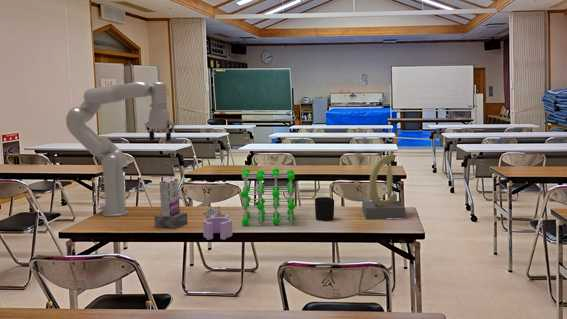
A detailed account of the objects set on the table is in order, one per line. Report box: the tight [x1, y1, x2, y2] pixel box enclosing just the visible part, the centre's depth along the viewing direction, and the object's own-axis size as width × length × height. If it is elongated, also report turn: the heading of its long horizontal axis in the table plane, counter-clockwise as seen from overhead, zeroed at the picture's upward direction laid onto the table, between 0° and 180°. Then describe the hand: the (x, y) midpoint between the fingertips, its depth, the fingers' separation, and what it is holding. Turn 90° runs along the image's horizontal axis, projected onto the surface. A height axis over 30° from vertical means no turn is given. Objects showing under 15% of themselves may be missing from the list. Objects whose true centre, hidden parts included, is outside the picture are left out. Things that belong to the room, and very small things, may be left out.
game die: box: [202, 205, 223, 219], centre depth 290 cm, size 9×8×10 cm
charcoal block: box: [154, 212, 188, 230], centre depth 287 cm, size 11×11×5 cm
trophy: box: [361, 153, 406, 220], centre depth 301 cm, size 19×19×30 cm
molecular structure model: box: [240, 167, 296, 227], centre depth 293 cm, size 24×25×24 cm
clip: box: [202, 213, 233, 241], centre depth 268 cm, size 20×12×7 cm, turn 0°
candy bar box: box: [159, 177, 181, 217], centre depth 286 cm, size 11×5×16 cm, turn 167°
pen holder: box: [314, 196, 335, 222], centre depth 295 cm, size 9×9×10 cm
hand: (160, 140), depth 310 cm, fingers open, 9 cm apart
